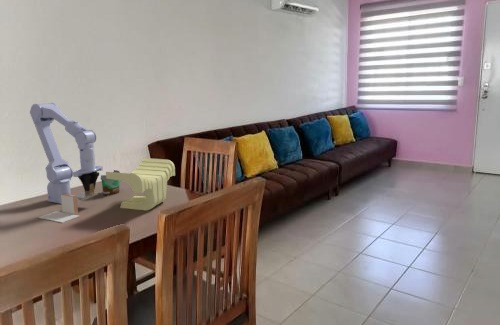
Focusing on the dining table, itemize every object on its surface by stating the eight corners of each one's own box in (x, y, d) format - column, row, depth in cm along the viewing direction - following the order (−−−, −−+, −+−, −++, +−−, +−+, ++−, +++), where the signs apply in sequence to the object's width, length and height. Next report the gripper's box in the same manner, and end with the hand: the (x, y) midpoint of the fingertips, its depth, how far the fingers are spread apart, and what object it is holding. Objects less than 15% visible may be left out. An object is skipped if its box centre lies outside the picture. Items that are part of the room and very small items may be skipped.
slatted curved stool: (143, 217, 158) (141, 174, 154) (108, 213, 162) (105, 171, 158) (175, 196, 186) (174, 160, 183) (145, 194, 190) (143, 158, 187)
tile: (62, 212, 163) (60, 194, 161) (65, 211, 164) (64, 193, 162) (74, 215, 160) (73, 196, 158) (78, 214, 161) (76, 195, 160)
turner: (86, 193, 173) (85, 182, 172) (97, 194, 171) (96, 183, 170) (72, 198, 166) (70, 187, 165) (82, 200, 164) (81, 188, 163)
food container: (113, 196, 185) (112, 176, 183) (101, 196, 186) (100, 175, 184) (126, 189, 197) (125, 170, 195) (115, 189, 198) (114, 169, 196)
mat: (38, 217, 156) (38, 217, 156) (56, 211, 163) (56, 211, 163) (62, 223, 151) (62, 222, 151) (79, 216, 158) (79, 215, 158)
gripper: (81, 162, 160) (83, 195, 162) (107, 156, 173) (109, 186, 175) (68, 161, 162) (70, 193, 165) (94, 155, 175) (96, 185, 178)
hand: (89, 189), depth 170 cm, fingers closed on turner, 2 cm apart
